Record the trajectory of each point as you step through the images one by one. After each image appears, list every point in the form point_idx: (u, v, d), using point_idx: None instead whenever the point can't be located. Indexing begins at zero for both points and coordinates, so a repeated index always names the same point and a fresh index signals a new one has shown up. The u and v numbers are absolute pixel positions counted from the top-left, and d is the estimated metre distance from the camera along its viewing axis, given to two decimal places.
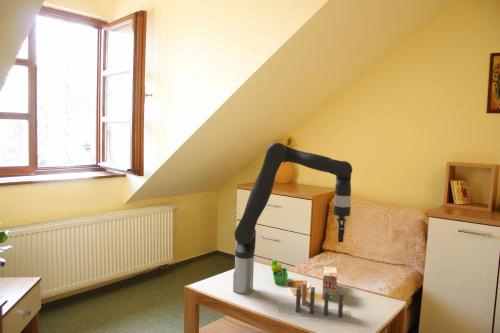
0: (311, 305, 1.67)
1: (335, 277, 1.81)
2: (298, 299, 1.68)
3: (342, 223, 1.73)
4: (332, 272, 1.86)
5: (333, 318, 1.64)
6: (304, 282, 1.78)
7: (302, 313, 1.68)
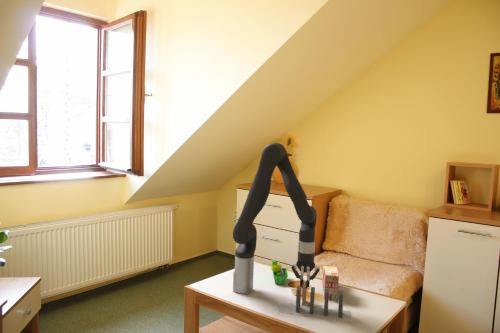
0: (311, 305, 1.67)
1: (337, 277, 1.82)
2: (298, 299, 1.68)
3: (318, 271, 1.76)
4: (334, 272, 1.86)
5: (333, 318, 1.64)
6: (304, 282, 1.78)
7: (302, 313, 1.68)
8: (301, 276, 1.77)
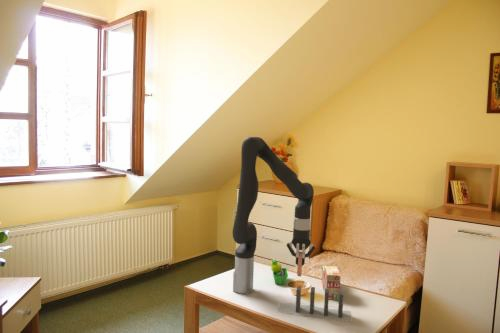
0: (311, 305, 1.67)
1: (339, 276, 1.82)
2: (298, 299, 1.68)
3: (314, 248, 1.74)
4: (335, 271, 1.87)
5: (333, 318, 1.64)
6: None
7: (302, 313, 1.68)
8: (297, 254, 1.74)
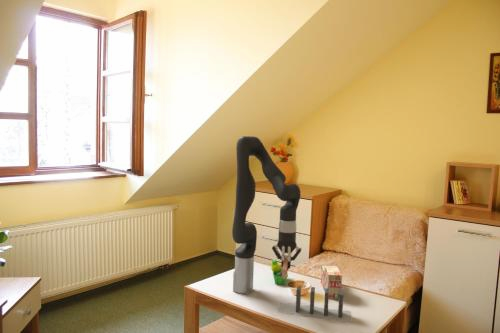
0: (311, 305, 1.67)
1: (340, 276, 1.83)
2: (298, 299, 1.68)
3: None
4: (336, 271, 1.87)
5: (333, 318, 1.64)
6: None
7: (302, 313, 1.68)
8: (282, 257, 1.70)
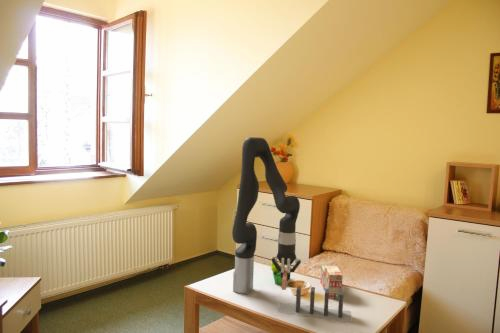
0: (311, 305, 1.67)
1: (341, 276, 1.83)
2: (298, 299, 1.68)
3: (299, 263, 1.70)
4: (336, 271, 1.88)
5: (333, 318, 1.64)
6: None
7: (302, 313, 1.68)
8: (282, 268, 1.70)
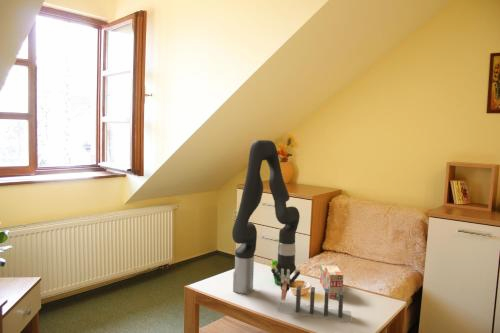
0: (311, 305, 1.67)
1: (341, 275, 1.84)
2: (298, 299, 1.68)
3: None
4: (337, 270, 1.88)
5: (333, 318, 1.64)
6: None
7: (302, 313, 1.68)
8: (282, 279, 1.70)
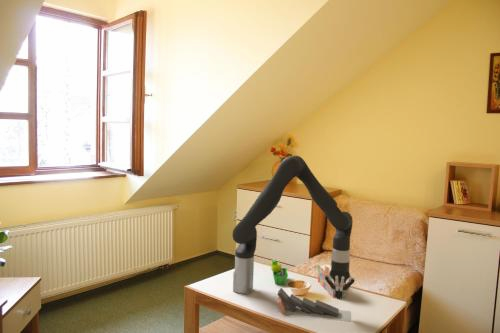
0: (301, 307, 1.68)
1: None
2: (285, 300, 1.69)
3: None
4: None
5: (333, 318, 1.64)
6: None
7: (302, 313, 1.68)
8: (336, 287, 1.66)
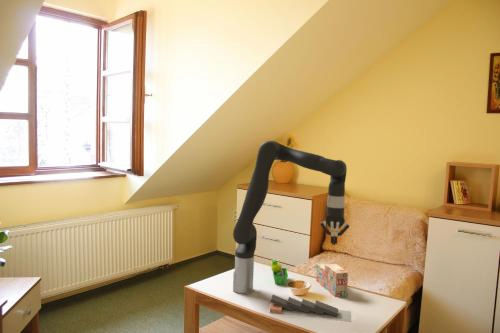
0: (300, 308, 1.69)
1: (346, 273, 1.87)
2: (279, 303, 1.70)
3: (347, 227, 1.71)
4: (340, 268, 1.91)
5: (333, 318, 1.64)
6: None
7: (302, 313, 1.68)
8: (332, 232, 1.71)
